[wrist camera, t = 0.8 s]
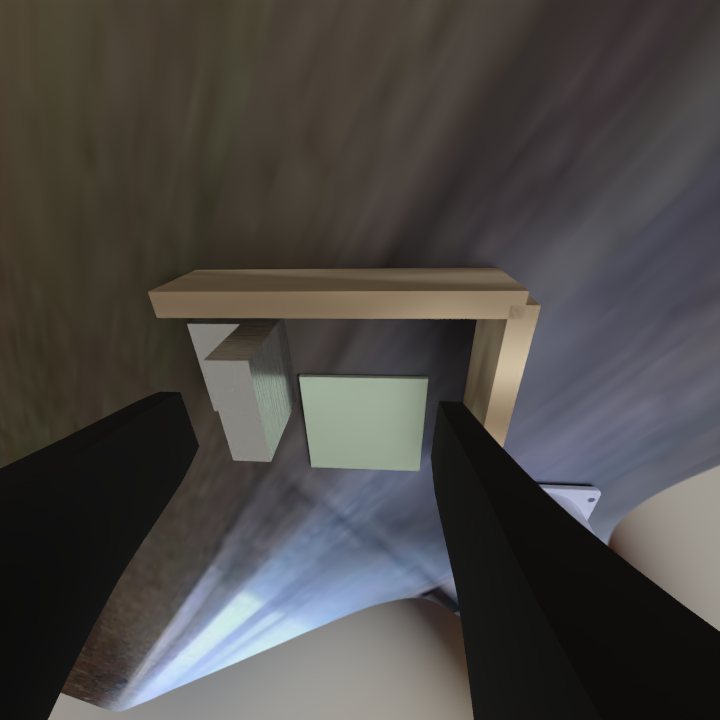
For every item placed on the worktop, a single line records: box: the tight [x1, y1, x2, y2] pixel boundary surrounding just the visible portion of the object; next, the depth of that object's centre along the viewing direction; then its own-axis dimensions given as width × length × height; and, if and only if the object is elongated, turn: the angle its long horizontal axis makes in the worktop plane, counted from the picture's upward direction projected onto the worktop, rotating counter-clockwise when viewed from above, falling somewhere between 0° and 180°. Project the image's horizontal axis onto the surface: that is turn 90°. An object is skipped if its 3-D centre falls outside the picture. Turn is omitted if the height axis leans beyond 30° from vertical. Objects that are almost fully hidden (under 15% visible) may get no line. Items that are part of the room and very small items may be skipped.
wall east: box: [148, 268, 529, 319], centre depth 15 cm, size 1×16×4 cm, turn 91°
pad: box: [299, 374, 428, 471], centre depth 22 cm, size 8×8×1 cm
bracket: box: [187, 318, 296, 462], centre depth 17 cm, size 6×5×6 cm
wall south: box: [463, 296, 541, 448], centre depth 18 cm, size 12×1×4 cm, turn 1°
